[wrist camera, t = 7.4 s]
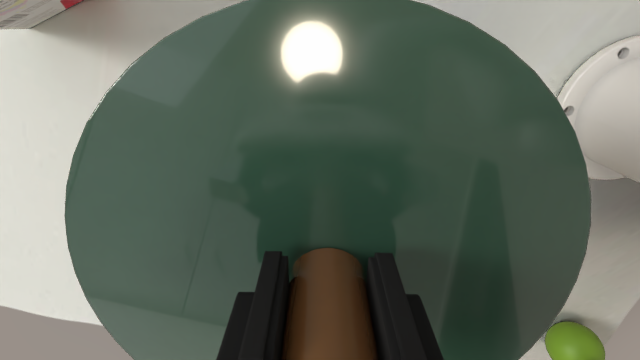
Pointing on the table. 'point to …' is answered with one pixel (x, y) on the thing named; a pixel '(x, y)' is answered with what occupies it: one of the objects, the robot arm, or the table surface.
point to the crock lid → (328, 182)
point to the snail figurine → (573, 342)
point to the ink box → (30, 12)
